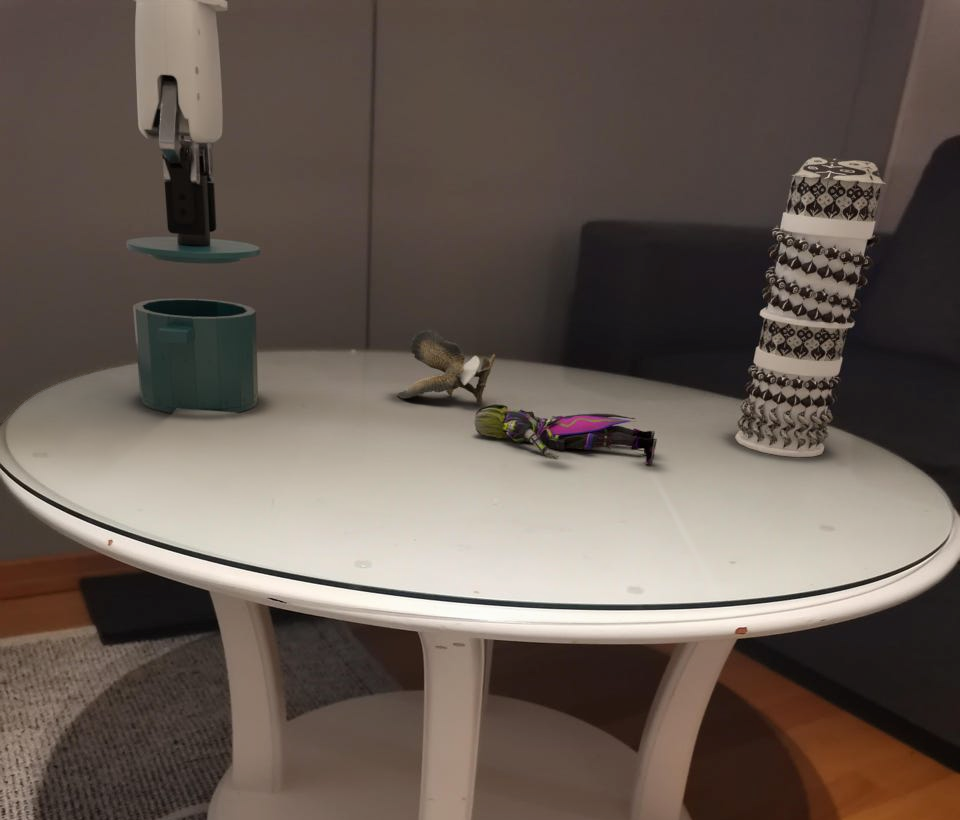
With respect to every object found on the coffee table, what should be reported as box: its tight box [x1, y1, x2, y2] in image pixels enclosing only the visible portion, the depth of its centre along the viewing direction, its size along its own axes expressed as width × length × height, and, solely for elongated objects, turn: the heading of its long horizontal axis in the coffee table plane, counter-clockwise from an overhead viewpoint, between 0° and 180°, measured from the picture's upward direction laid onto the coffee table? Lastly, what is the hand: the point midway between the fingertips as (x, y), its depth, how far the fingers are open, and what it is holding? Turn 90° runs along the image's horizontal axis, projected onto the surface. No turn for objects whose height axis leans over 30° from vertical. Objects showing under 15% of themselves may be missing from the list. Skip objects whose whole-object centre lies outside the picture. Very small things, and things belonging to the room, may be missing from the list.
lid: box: [125, 175, 261, 265], centre depth 85 cm, size 11×11×7 cm
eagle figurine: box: [396, 329, 496, 406], centre depth 99 cm, size 8×7×9 cm
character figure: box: [474, 403, 658, 466], centre depth 86 cm, size 9×4×16 cm
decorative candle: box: [734, 156, 887, 458], centre depth 89 cm, size 9×9×25 cm
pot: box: [132, 297, 259, 414], centre depth 91 cm, size 11×16×8 cm, turn 0°
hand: (192, 230), depth 86 cm, fingers closed on lid, 2 cm apart
